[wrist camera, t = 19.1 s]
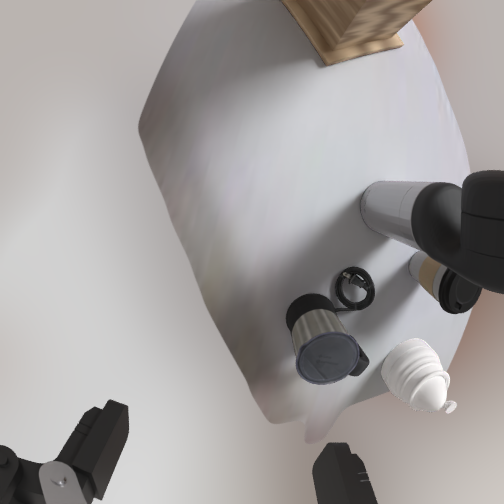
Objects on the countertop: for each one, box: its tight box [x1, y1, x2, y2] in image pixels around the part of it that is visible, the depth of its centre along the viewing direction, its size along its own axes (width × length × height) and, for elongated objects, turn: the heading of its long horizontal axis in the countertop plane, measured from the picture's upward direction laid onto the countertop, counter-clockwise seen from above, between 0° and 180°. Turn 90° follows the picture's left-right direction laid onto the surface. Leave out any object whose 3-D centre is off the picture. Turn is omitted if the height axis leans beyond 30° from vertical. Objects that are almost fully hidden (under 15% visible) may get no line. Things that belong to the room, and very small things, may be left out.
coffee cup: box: [409, 251, 482, 314], centre depth 42 cm, size 9×9×15 cm
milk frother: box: [286, 267, 375, 385], centre depth 44 cm, size 14×16×15 cm
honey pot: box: [381, 338, 457, 413], centre depth 46 cm, size 13×13×18 cm
